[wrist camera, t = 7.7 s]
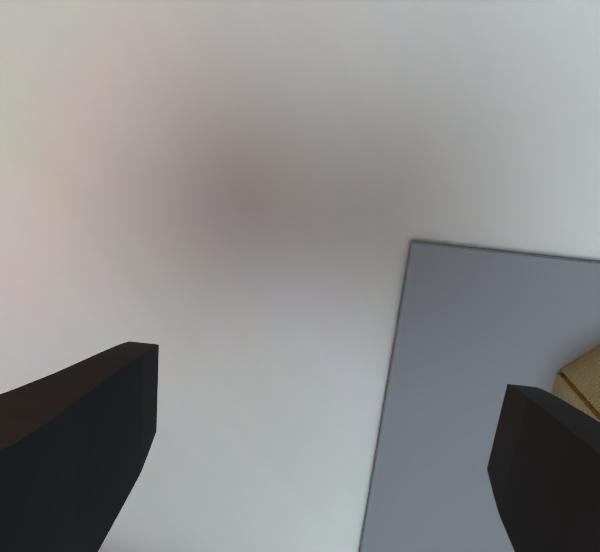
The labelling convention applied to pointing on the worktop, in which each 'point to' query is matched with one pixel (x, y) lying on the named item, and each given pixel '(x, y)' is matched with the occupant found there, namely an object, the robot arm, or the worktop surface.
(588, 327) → the mat
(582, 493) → the robot arm
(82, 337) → the worktop surface
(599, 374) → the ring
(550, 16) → the worktop surface
